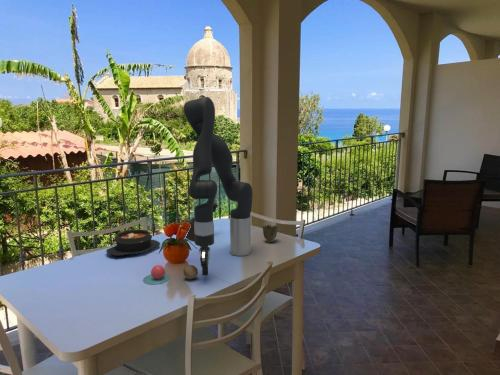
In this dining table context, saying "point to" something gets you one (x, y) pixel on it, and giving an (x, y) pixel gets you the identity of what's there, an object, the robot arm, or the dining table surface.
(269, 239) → the cup
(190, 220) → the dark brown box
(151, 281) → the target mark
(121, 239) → the casserole
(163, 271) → the object ball
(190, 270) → the brown ball
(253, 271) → the dining table surface
